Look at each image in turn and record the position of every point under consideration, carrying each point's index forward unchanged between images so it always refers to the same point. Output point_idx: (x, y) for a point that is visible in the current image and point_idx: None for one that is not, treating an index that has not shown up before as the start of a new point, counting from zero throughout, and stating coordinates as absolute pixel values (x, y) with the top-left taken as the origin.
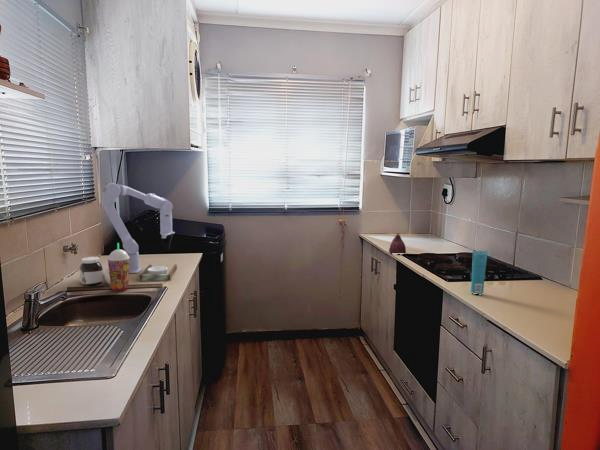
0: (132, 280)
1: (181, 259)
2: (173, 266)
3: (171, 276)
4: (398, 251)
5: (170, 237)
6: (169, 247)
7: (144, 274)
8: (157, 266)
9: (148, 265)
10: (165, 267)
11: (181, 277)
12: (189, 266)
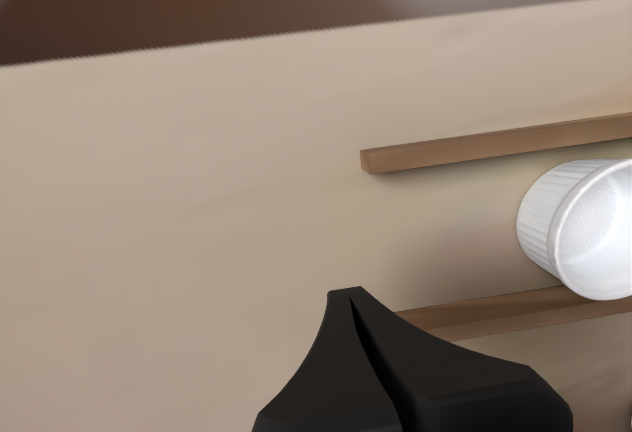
0: (611, 325)
1: (19, 209)
2: (446, 158)
3: (615, 115)
4: None
5: (563, 406)
6: (350, 298)
7: None
8: (560, 256)
9: None
10: (591, 186)
11: (600, 43)
12: (261, 65)
